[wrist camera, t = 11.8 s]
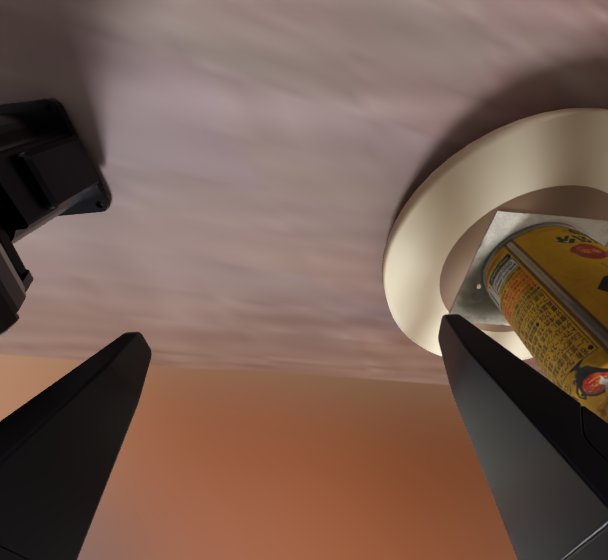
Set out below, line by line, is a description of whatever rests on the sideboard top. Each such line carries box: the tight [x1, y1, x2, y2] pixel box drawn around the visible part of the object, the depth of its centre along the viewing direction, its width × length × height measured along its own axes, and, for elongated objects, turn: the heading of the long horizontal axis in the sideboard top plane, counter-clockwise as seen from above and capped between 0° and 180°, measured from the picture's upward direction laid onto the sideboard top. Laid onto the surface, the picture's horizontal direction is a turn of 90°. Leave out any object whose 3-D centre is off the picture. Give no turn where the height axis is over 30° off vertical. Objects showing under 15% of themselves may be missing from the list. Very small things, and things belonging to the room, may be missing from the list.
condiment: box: [450, 211, 608, 423], centre depth 16 cm, size 7×8×12 cm
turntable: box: [382, 107, 608, 360], centre depth 21 cm, size 18×18×2 cm
